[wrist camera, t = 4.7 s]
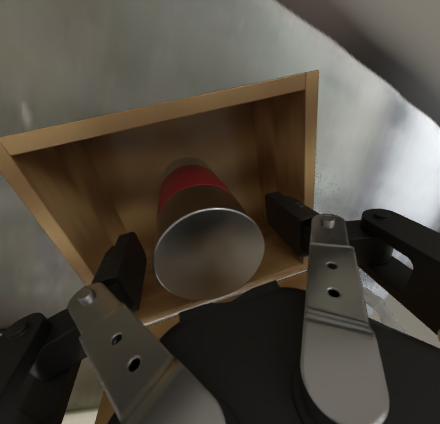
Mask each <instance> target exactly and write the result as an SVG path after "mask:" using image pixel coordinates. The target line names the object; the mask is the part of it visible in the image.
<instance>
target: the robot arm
mask: <svg viewBox="0 0 440 424" xmlns="http://www.w3.org/2000/svg"><path fill="white" fill-rule="evenodd" d="M265 207H266V217H267V221H268V223H269V225H270V226H271V227H272V228H273V230H274V231H275V232H276V233H277V234H278V235H279V236H280V237H281V238H282V239H283V240H284V242H285V243H286V244H287V245H288V246H289V247H290V248H291V249H292V250H293V251H294V253H295V254H296V255H297V256H298V257H299V258H303V257H306V256H308V270H307V284H306V290H303V289H298V288H292V287H280V286H279V285H278V283H277V282H276V280H274V281H271V282H269V283H266V284H263V285H260V286H257V287H254V288H252V289H250V290H249V291H247V292H245V293H244V294H242V295H241V296H239V297H237V298H236V299H234V300H232V301H230V302H223V303H212V304H203V305H200V306H197V307H194V308H192V309H189V310H186V311H183V312H180V313H179V320H180V322H178V323H177V324H175V325H174V326H173V327H171V328H170V329H169V330H168V331H167V332H166V333H165V334H164V335H163V336H162V337H161V338H160V340H158V339H157V338H156V337H155V336H154V335H153V334H152V333H151V332H150V331H149V329H148V328H147V327H146V326H145V325H144V324H143V323H142V322H141V321H140V320H139V319H138V318H137V317H136V316H135V315H134V312H137V311H139V308H140V302H141V295H142V289H143V283H144V277H145V271H146V264H147V258H146V254H145V251H144V249H143V247H142V245H141V243H140V241H139V239H138V237H137V235H136V233H135V232H129V233H126V234H122V235H119V237H118V239H117V242H116V244H115V246H112V247H111V248H110V249H109V250H108V251H107V252H106V253H105V255H104V257H103V259H102V261H101V264H100V267H99V268H98V270H97V272H96V274H95V276H94V278H93V280H92V282H91V284H90V285H88V286H86V287H84V288H82V289H81V290H80V291H78V292H77V293H76V294H75V295H74V296H73V297H72V298H71V300H70V301H69V303H68V306H67V309H65V310H63V311H61V312H59V313H57V314H56V315H54V316H52V317H50V318H48V319H47V318H46V317H45V316H44V315H43V314H41V313H33V314H30V315H28V316H26V317H24V318H22V319H20V320H19V321H17V322H16V323H14V324H13V325H12V326H10V327H9V328H8V329H6V330H0V424H62V420H63V417H64V414H65V411H66V408H67V405H68V401H69V398H70V395H71V392H72V389H73V385H74V382H75V379H76V376H77V373H78V370H79V366H80V363H81V360H82V359H84V358H85V357H88V359H89V361H90V363H91V365H92V367H93V369H94V371H95V373H96V375H97V377H98V379H99V381H100V383H101V385H102V387H103V389H104V391H105V393H106V395H107V397H108V399H109V401H110V403H111V405H112V407H113V409H114V413H113V415H112V416H111V418H110V420H109V421H108V423H107V424H440V349H439V348H437V347H435V346H433V345H430V344H428V343H426V342H423V341H421V340H419V339H417V338H414V337H412V336H410V335H407V334H405V333H403V332H401V331H398V330H396V329H394V328H391V327H389V326H387V325H384V324H382V323H380V322H378V321H375V320H373V319H371V318H368V314H367V309H366V304H365V299H364V294H363V289H362V284H361V279H360V274H359V269H358V266H359V267H360V268H361V269H362V270H363V271H364V272H365V273H367V274H368V275H369V276H370V277H371V278H372V279H373V280H375V281H376V282H377V283H378V284H379V285H380V286H381V287H383V288H384V289H385V290H386V291H387V292H388V293H389V294H391V295H392V296H393V297H394V298H395V299H396V300H398V301H399V302H400V303H401V304H402V305H403V306H404V307H406V308H407V309H408V310H409V311H410V312H411V313H413V314H414V315H415V316H416V317H417V318H418V319H419V320H420V321H422V322H423V323H424V324H425V325H426V326H427V327H429V328H430V329H431V330H432V331H433V332H434V333H435V334H436V335H438V338H439V341H440V233H438V232H436V231H434V230H432V229H430V228H427V227H425V226H423V225H421V224H419V223H417V222H415V221H412V220H410V219H408V218H406V217H404V216H402V215H400V214H397V213H395V212H393V211H390V210H385V209H369V210H366V211H364V212H363V213H362V218H361V220H355V221H345V220H344V219H343V218H341V217H339V216H337V215H333V214H319V213H317V212H315V211H314V210H312V209H311V208H309V207H308V206H306V205H305V204H303V203H301V202H300V201H299V200H297V199H296V198H292V197H289V196H284V195H283V194H281V193H280V192H278V191H276V192H272V193H269V194H266V195H265ZM393 249H396V250H397V251H399V252H400V253H402V254H404V255H405V256H407V257H408V258H409V259H410V260H411V262H412V264H413V270H412V269H410V268H409V267H407V266H406V265H405V264H403V263H402V262H400V261H399V260H397V259H396V258H394V257H393V256H391V255H392V252H393Z"/></svg>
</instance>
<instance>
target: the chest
mask: <svg viewBox="0 0 440 424" xmlns="http://www.w3.org/2000/svg"><path fill="white" fill-rule="evenodd" d="M318 81H319V70H315V71H310V72H306V73H301V74H296V75H291V76H287V77H282V78H277V79H272V80H268V81H263V82H258V83H254V84H249V85H244V86H239V87H235V88H230V89H225V90H221V91H216V92H211V93H206V94H202V95H197V96H192V97H188V98H183V99H178V100H173V101H169V102H164V103H159V104H155V105H150V106H145V107H141V108H136V109H131V110H126V111H122V112H117V113H112V114H108V115H103V116H98V117H93V118H89V119H84V120H79V121H75V122H70V123H65V124H60V125H56V126H51V127H46V128H42V129H37V130H32V131H28V132H23V133H18V134H13V135H9V136H4V137H0V172H1V174H2V175H3V176H4V178H5V179H6V180H7V182H8V183H9V184H10V186H11V187H12V188H13V189H14V191H15V192H16V193H17V195H18V196H19V197H20V199H21V200H22V201H23V203H24V204H25V205H26V207H27V208H28V209H29V211H30V212H31V213H32V215H33V216H34V217H35V219H36V220H37V221H38V223H39V224H40V225H41V227H42V228H43V229H44V230H45V232H46V233H47V234H48V236H49V237H50V238H51V240H52V241H53V242H54V244H55V245H56V246H57V248H58V249H59V250H60V252H61V253H62V254H63V256H64V257H65V258H66V260H67V261H68V262H69V264H70V265H71V266H72V268H73V269H74V270H75V271H76V273H77V274H78V275H79V277H80V278H81V279H82V281H83V282H84V283H85V285H86V286H88V285H90V284H91V282H92V280H93V278H94V276H95V274H96V272H97V270H98V268H99V267H100V264H101V261H102V259H103V257H104V255H105V253H106V252H107V251H108V250H109V249H110V248H111V247H112V246H115V244H116V242H117V239H118V237H119V235H122V234H126V233H129V232H135V233H136V235H137V237H138V239H139V241H140V243H141V245H142V247H143V249H144V251H145V254H146V258H147V264H146V271H145V277H144V283H143V289H142V295H141V302H140V308H139V311H137V312H134V315H135V316H136V317H137V318H138V319H139V320H140V321H141V322H142V323H143V324H144V325H148V324H151V323H154V322H157V321H159V320H162V319H165V318H168V317H171V316H174V315H177V314H179V313H180V312H183V311H186V310H189V309H192V308H194V307H197V306H200V305H203V304H208V303H211V302H214V301H217V300H220V299H223V298H225V297H228V296H231V295H234V294H237V293H240V292H243V291H245V290H248V289H251V288H254V287H257V286H260V285H263V284H266V283H268V282H271V281H274V280H277V279H280V278H283V277H286V276H289V275H291V274H294V273H297V272H300V271H303V270H306V269H308V256H306V257H303V258H299V257H298V256H297V255H296V254H295V253H294V251H293V250H292V249H291V248H290V247H289V246H288V245H287V244H286V243H285V242H284V240H283V239H282V238H281V237H280V236H279V235H278V234H277V233H276V232H275V231H274V230H273V228H272V227H271V226H270V225H269V223H268V221H267V217H266V207H265V195H266V194H269V193H272V192H276V191H278V192H280V193H281V194H283V195H284V196H289V197H292V198H296V199H297V200H299V201H300V202H301V203H303V204H305V205H306V206H308V207H309V208H311V209H312V210H313V208H314V183H315V157H316V132H317V106H318ZM184 157H192V158H196V159H199V160H201V161H203V162H204V163H206V164H207V165H208V166H209V168H210V169H211V170H212V171H213V172H214V173H215V174H216V175H217V176H218V178H219V179H220V180H221V181H222V182H223V184H224V185H225V186H226V187H227V188H228V189H229V191H230V192H231V193H232V194H233V195H234V197H235V198H236V199H237V200H238V202H239V203H240V205H241V206H242V207H243V208H244V209H245V210H246V212H247V213H248V214H249V215H250V216H251V218H252V219H253V220H254V221H255V222H256V224H257V225H258V226H259V228H260V230H261V232H262V235H263V238H264V255H263V259H262V261H261V264H260V266H259V268H258V270H257V271H256V272H255V274H254V275H253V276H252V277H251V279H250V280H249V281H248V282H246V283H245V284H244V285H243V286H241V287H240V288H239V289H237V290H235V291H234V292H232V293H230V294H227V295H225V296H222V297H219V298H215V299H210V300H190V299H185V298H182V297H179V296H177V295H174V294H173V293H171V292H169V291H168V290H167V289H166V288H164V287H163V285H162V284H161V283H160V282H159V280H158V278H157V277H156V274H155V272H154V268H153V252H154V243H155V234H156V221H157V212H158V204H159V195H160V189H161V181H162V176H163V173H164V171H165V169H166V168H167V167H168V165H170V164H171V163H172V162H173V161H175V160H177V159H180V158H184Z"/></svg>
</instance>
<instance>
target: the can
mask: <svg viewBox="0 0 440 424" xmlns="http://www.w3.org/2000/svg"><path fill="white" fill-rule="evenodd" d="M263 255H264V238H263V235H262V232H261V230H260V228H259V226H258V225H257V224H256V222H255V221H254V220H253V219H252V218H251V216H250V215H249V214H248V213H247V212H246V210H245V209H244V208H243V207H242V206H241V205H240V203H239V202H238V200H237V199H236V198H235V197H234V195H233V194H232V193H231V192H230V191H229V189H228V188H227V187H226V186H225V185H224V184H223V182H222V181H221V180H220V179H219V178H218V176H217V175H216V174H215V173H214V172H213V171H212V170H211V169H210V168H209V166H208V165H207V164H206V163H204V162H203V161H201V160H199V159H196V158H192V157H184V158H180V159H177V160H175V161H173V162H172V163H171V164H170V165H168V167H167V168H166V169H165V171H164V173H163V176H162V181H161V189H160V195H159V204H158V212H157V221H156V234H155V243H154V252H153V268H154V272H155V274H156V277H157V278H158V280H159V282H160V283H161V284H162V285H163V287H164V288H166V289H167V290H168V291H169V292H171V293H173V294H174V295H177V296H179V297H182V298H185V299H190V300H210V299H215V298H219V297H222V296H225V295H227V294H230V293H232V292H234V291H235V290H237V289H239V288H240V287H241V286H243V285H244V284H245V283H246V282H248V281H249V280H250V279H251V277H252V276H253V275H254V274H255V272H256V271H257V270H258V268H259V266H260V264H261V261H262V259H263Z"/></svg>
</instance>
